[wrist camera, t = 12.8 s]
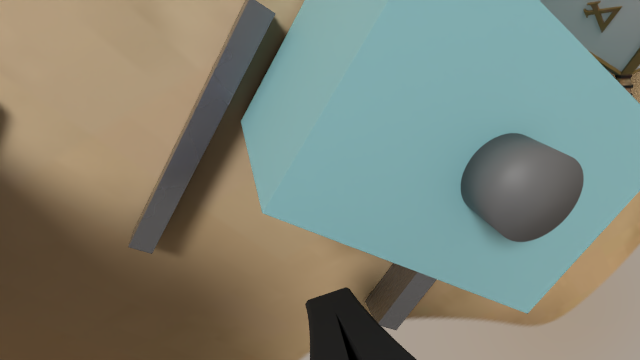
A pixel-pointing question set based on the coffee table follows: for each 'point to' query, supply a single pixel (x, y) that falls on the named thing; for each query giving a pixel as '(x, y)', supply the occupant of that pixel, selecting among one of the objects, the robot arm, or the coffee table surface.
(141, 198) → the coffee table surface
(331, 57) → the block
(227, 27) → the coffee table surface
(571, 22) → the game die
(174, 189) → the press frame
